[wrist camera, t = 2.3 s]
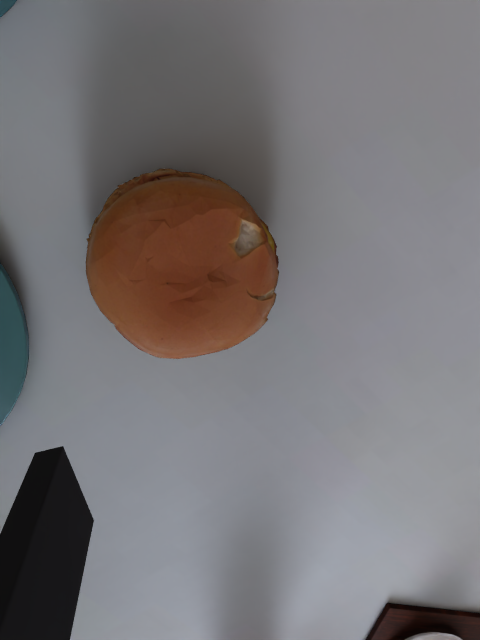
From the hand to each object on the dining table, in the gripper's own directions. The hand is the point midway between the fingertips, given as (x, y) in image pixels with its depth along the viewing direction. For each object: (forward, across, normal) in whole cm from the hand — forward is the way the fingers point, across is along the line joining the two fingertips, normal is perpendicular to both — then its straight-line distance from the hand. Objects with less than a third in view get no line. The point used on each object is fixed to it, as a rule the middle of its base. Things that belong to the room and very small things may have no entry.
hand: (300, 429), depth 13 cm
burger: (+15, -2, +2) cm, 15 cm away
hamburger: (+15, +10, -39) cm, 43 cm away
